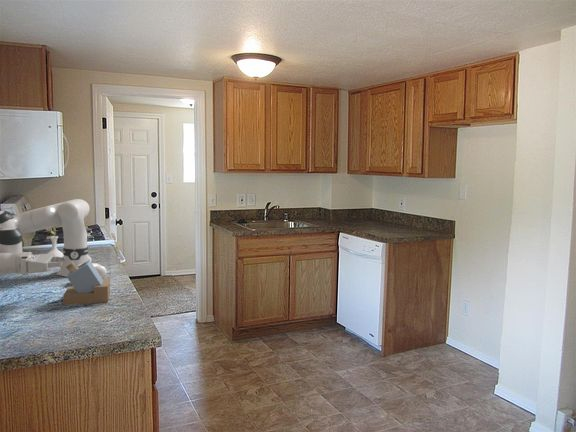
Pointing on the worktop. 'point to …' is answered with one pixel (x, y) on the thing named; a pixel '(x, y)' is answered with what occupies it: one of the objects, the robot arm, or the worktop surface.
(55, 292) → the worktop surface
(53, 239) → the flower in vase
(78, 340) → the worktop surface
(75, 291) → the socket
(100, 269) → the lightbulb
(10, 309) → the worktop surface
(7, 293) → the worktop surface
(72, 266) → the peg
